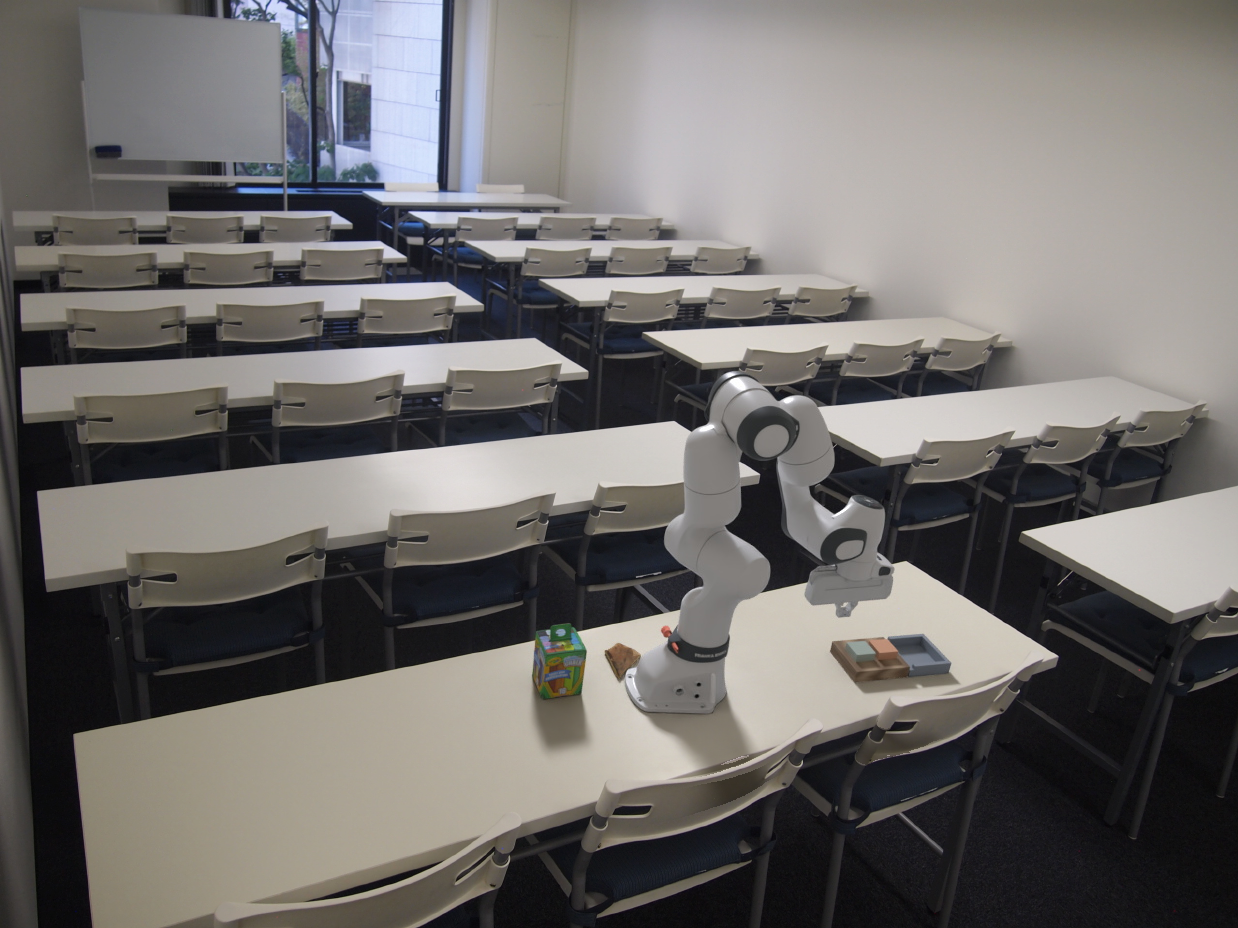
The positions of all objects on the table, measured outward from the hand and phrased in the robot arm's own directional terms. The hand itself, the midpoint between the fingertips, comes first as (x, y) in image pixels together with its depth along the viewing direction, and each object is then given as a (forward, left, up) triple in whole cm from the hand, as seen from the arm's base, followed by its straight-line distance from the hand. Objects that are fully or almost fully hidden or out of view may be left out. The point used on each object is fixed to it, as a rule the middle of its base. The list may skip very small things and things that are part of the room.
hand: (842, 615), depth 209 cm
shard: (-48, +9, -15) cm, 51 cm away
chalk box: (-65, +3, -15) cm, 67 cm away
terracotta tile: (+13, 0, -11) cm, 17 cm away
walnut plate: (+10, 0, -14) cm, 18 cm away
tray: (+23, 0, -14) cm, 27 cm away
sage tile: (+7, 0, -11) cm, 13 cm away
